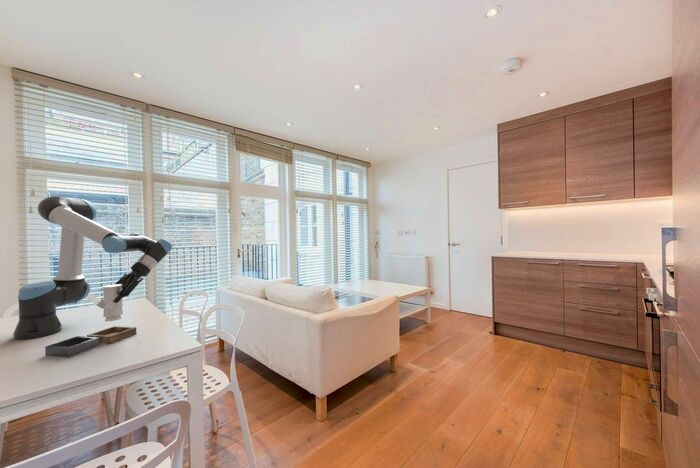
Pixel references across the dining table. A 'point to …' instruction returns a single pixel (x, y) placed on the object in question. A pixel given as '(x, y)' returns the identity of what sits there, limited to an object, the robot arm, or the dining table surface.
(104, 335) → the tray
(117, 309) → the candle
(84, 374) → the dining table surface
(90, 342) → the shallow grey tray
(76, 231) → the robot arm
